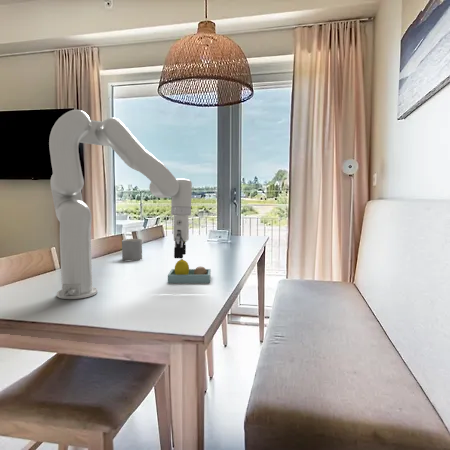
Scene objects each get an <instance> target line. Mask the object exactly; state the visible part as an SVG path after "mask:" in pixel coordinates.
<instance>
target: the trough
mask: <svg viewBox="0 0 450 450" xmlns="http://www.w3.org/2000/svg"><path fill="white" fill-rule="evenodd" d="M195 269H196V268H189V273H188V275H176V274H175V268H172V269H171V270H169V273H168V274H167V283H168V284H210V283H211V276H212V270H211V268H205V269H206V271H207V275H194V270H195Z"/></svg>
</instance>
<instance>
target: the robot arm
mask: <svg viewBox="0 0 450 450" xmlns="http://www.w3.org/2000/svg"><path fill="white" fill-rule="evenodd" d="M48 141H49V142H48V145H49V146H48V147H49V155H50V163H51V168H52V175H50V176H51V177H50V181H49V182H50V183H49V184H50V190H51V195H52V201H53V206H54V207H53V208H54V211H55V217H56V218H57V220H58V222H59V252H60V256H59V257H60V274H61V275H60V277H61V278H60V280H61V290H59V291H57V292H56V297H57V298H59V299H62V300H77V299H80V300H81V299H85V298H91V297H93V296H94V295H97V293H98V288H97V287H94V286H93V266H92V265H93V264H92V263H93V261H92V221H93V220H92V219H93V218H92V212H91V209H90V207H89V206H88V204H87V203H85V202H84V200H83V194H82V190H83V188H84V184H85V180H84V176H83V171H82V166H81V160H80V153H79V145H80V143H81V144H89V145H95V146H103V147H105V146H106V147H109V148H111V149H112V150H113V151H114V152H115V153H116V154H117V155H118V156H119V158H120V159H121V160H122V161H123V162H124V164H125V165H126V166H128V167H129V168H131V169H132V170H135V172H139V173H140V174H141V175H143V176H145V177H146V178H147V179H148V180H149V181H150V183H149V192H150V193H151V195H153V196H154V197H155V198H161V199H163V198H165V199H170V198H171V201H170V202H171V204H170V205H171V207H170V213H171V214H170V215H171V216H173V241H174V249H173V252H174V253H173V258H174V259H184V255H186V252H187V251H186V249H187V247H186V246H187V244H186V243H187V242H188V241H189V237H190V235H189V229H190V228H189V227H190V224H189V223H190V222H189V217H191V216H192V195H193V194H192V192H193V191H192V190H193V189H192V188H193V186H192V185H193V182H192V181H191V179H187V178H176V177H175V176H174V175H173V173H172V172H171V171H170V170H169V169H168V167H166V165H164V163H163V162H161V161H160V159H158V158H156V156H154V155H153V154H152V153H151V152H150V151H148V150H147V149H145V147H144V146H143V145H142V144H141V143H140V141H139V140H138V139H137V137H135V136H134V134H133V133H132V132H131V130H129V128H128V127H126V125H125V124H124V122H122V121H121V120H120V119H119V118H116V117H109V118H106V119H105V120H104V119H103V121H102V120H101V121H99V120H94V119H92V120H91V118H90V116H89V114H87V113H86V112H85V111H83V110H81V109H72V110H69V111H67V112H65V113H63V114H62V115H61V116H60V117H58V119H57V120H56V121H55V122H54V125H53V126H52V128H51V131H50V134H49V140H48Z"/></svg>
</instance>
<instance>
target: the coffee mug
mask: <svg viewBox="0 0 450 450" xmlns="http://www.w3.org/2000/svg"><path fill="white" fill-rule="evenodd" d="M121 257H122V259H124V260H137V261H141V260H142V259H143V239H141V238H125V239H122V240H121ZM140 259H141V260H140ZM124 260H123V261H124Z"/></svg>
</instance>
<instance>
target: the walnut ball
mask: <svg viewBox="0 0 450 450" xmlns="http://www.w3.org/2000/svg"><path fill="white" fill-rule="evenodd" d="M194 269H195V270H194V275H207V271H206V269H207V268H205V267H203V266H198V267H196V268H194Z"/></svg>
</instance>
